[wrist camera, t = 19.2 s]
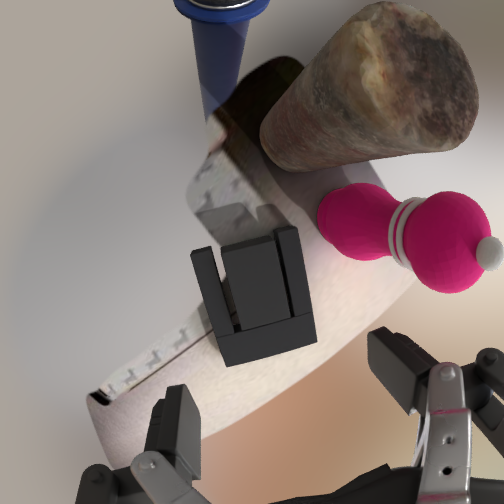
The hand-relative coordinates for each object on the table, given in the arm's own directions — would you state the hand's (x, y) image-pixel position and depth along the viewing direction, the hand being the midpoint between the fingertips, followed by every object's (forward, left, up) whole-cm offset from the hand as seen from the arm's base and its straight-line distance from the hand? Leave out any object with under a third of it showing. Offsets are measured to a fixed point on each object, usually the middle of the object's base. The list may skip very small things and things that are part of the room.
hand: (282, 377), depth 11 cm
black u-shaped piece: (+4, +1, -18) cm, 18 cm away
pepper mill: (-2, +12, -18) cm, 22 cm away
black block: (+1, +1, -18) cm, 18 cm away
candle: (-11, +8, -18) cm, 23 cm away
